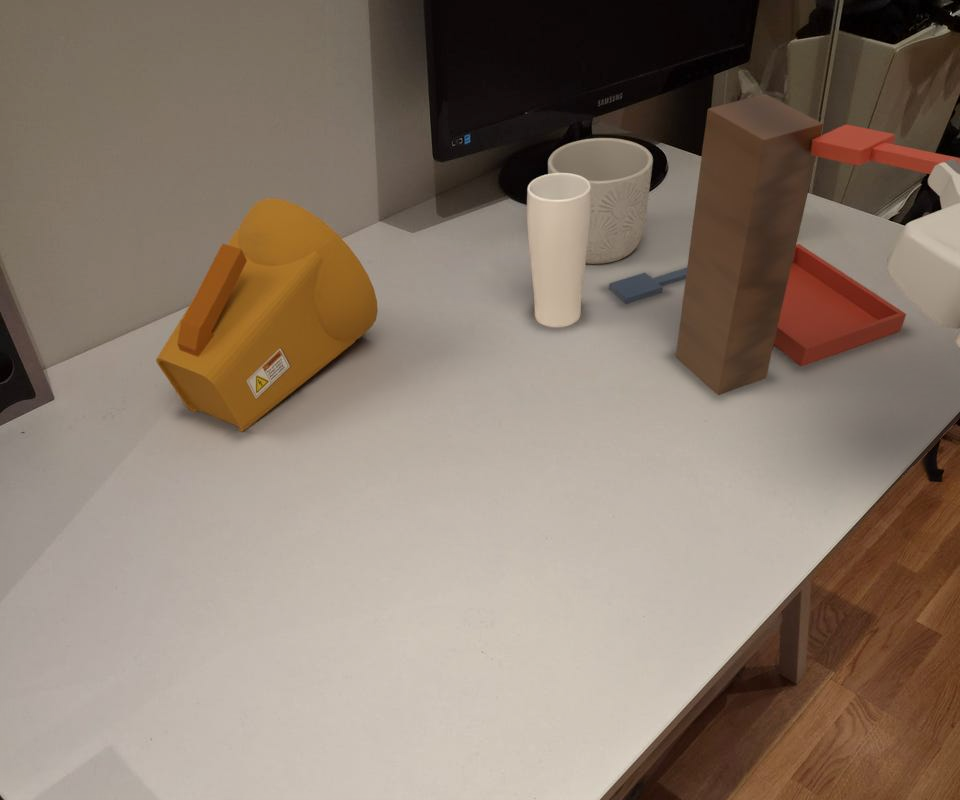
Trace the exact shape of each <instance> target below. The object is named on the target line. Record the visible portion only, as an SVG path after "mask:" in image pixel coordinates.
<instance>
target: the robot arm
mask: <svg viewBox="0 0 960 800" xmlns="http://www.w3.org/2000/svg"><path fill="white" fill-rule="evenodd" d="M927 185H928V186H929V187H930V189H931V190H933V192H935V194H937V196H939V202H940V207H941V209H940V210H937V211H934V212H932V213H929V214H927V215H924V216H921V217H918V218H916V219H913V220H911V221H909V222H907V223H906V224H905V225H904V226H903V228H902V229H901V231H900V233H899V234H898V236H897V238H896V240H895V241H894V244H893V245H892V247H891V250H890V251H889V253H888V256H887V259H886V266H887V273H888V276H889V277H890V279H891V280H892V282H893V283H894V284H895V285H896V286H897V287H898V288H899V290H901V292H902V293H903V294H904V295H905V296H906V297H907V298H908V299H909V300H910V301H911V302H912V303H913V304H914V305H915V306H916V307H917V308H918V309H919V310H921V312H922V313H924V314H925V315H926V316H927V317H928V318H929V319H930V320H932V321H933V322H935V323H937V324H938V325H940V326H942V327H944V328H947V329H948V328H949V329H953V330H955V329H956V330H957V329H959V330H960V164H958V161H957V160H956V159H951V160H948V161H945V162H943V163H940V164H937V165H936V166H935V167H934V169H933V171H932V172H931V174H929V176H928V178H927ZM954 340H955V341H954V342H955V344H956V346H957V347H958V348H959V349H960V331H959V332H958V333H957V335H956V337H955V339H954Z"/></svg>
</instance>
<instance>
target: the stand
mask: <svg viewBox="0 0 960 800" xmlns="http://www.w3.org/2000/svg"><path fill="white" fill-rule="evenodd" d="M823 128H824V123H823V122H821V121H819V120H817V119H816V118H813V117H812V116H809V115H807V114H806V113H803V112H802V111H800V110H797V109H796V108H794V107H791V106H790V105H788V104H786V103H784V102H782V101H780V100H778V99H776V98H774V97H772V96H770V95H768V94H766V93H762V94H758V95H755V96H751V97H747V98H744V99H740V100H736V101H732V102H729V103H725V104H720V105H716V106H713V107H710V108H708V109H707V112H706V119H705V128H704V133H703V134H704V135H703V143H702V150H701V158H700V167H699V173H698V182H697V190H696V197H695V204H694V213H693V220H692V227H691V235H690V244H689V250H688V256H687V257H688V258H687V264H686V266H687V267H686V268H687V273H686V279H685V281H684V288H683V296H682V305H681V310H680V311H681V312H680V319H679V327H678V333H677V334H678V336H677V343H676V351H675V359H677V360H678V361H679V362H680V363H681V364H682V365H684V367H686V368H687V369H688V370H689V371H690V372H691V373H692V374H694V375H695V376H696V377H697V378H698V379H699V380H700V381H701V382H702V383H703V384H705V385H706V387H708V388H709V389H710V390H711V391H713V392H714V393H715V394H716V395H717V396H720V395H723V394H726V393H728V392H731V391H734V390H737V389H740V388H742V387H743V388H744V387H746V386H748V385H750V384H755V383H756V382H759V381H763V380H765V379H767V375H768V371H769V367H770V362H771V358H772V354H773V353H772V352H773V350H774V340H775V336H776V332H777V327H778V323H779V318H780V314H781V310H782V305H783V301H784V296H785V292H786V287H787V283H788V279H789V274H790V270H791V265H792V261H793V257H794V252H795V248H796V244H798V239H799V234H800V229H801V225H802V220H803V216H804V212H805V208H806V205H807V204H806V203H807V199H808V195H809V189H810V185H811V180H812V177H813V173H814V172H813V171H814V168H815V163H816V160H817V156H813V155H811V146H812V140H813V139H815V138H817V137H819V136H822V133H823Z"/></svg>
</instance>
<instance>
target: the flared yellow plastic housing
mask: <svg viewBox="0 0 960 800" xmlns="http://www.w3.org/2000/svg"><path fill="white" fill-rule="evenodd" d="M377 316H378V299H377V296H376V292H375V288H374V286H373V283H372V281H371V278H370V276H369V274H368V272H367V271H366V269H365V267H364V266H363V264H362V263H361V261H360V259H359V258H358V257H357V255H356V254H355V253H354V251H353V250H352V249H351V248H350V246H349V245H348V244H347V242H345V241H344V239H343V238H342V237H341V236H340V235H339V234H338V233H337V232H336V231H335V230H334V229H332V227H330V226H329V225H328V223H326V222H325V221H323V220H322V219H320V218H319V217H318V216H317V215H315V214H314V213H313V212H311V211H310V210H307V209H305V208H304V207H302V206H300V205H298V204H296V203H293V202H291V201H288V200H286V199H283V198H282V199H281V198H275V197H270V198H263V199H261V200H259V201H257V202H255V203H254V205H253V206H252V207H251V208H250V209H249V210H248V211H247V214H245V216H244V218H243V220H242V221H241V223H240V225H239V228H237V229H236V230H235V231H234V232H233V234H232V236H231V238H230V239H229V241H228V243H227V244H225V243H222V244H221V246H220V248H219V249H218V251H217V254H216V255H215V257H214V258H213V261H212V262H211V265H210V267H209V269H208V270H207V272H206V275H205V276H204V278H203V281H202V282H201V284H200V286H199V287H198V290H197V292H196V294H195V295H194V297H193V299H192V300H191V302H190V304H189V306H188V307H187V309H186V310H185V312H184V313H183V316H182V317H181V319H180V320H179V322H177V325H176V326H175V327H174V330H173V332H172V333H171V334H170V336H169V338H168V340H167V341H166V343H165V344H164V346H163V348H162V349H161V351H160V352H159V354H158V355H157V357H156V359H155V361H156V364H157V366H158V367H159V368H160V370H161V372H162V373H163V374H164V376H165V377H166V379H167V380H168V382H169V383H170V385H171V386H172V388H173V389H174V390H175V392H176V393H177V395H178V397H179V398H180V399H181V401H182V403H183V404H184V405H185V407H187V409H188V410H189V411H191V412H193V413H196V412H197V411H199V412H202V413H205V414H207V415H209V416H211V417H214V418H216V419H219V420H222V421H224V422H226V423H229V424H231V425H233V426H236V427H238V428H239V429H238V432H241V433H243V432H244V431H246V430H247V429H249V428H250V427H251V426H253V425H254V424H255V423H256V422H258V420H260V419H261V418H262V417H264V416H265V415H266V414H267V413H269V412H270V411H271V410H272V409H273V408H275V407H276V406H277V405H278V404H280V403H282V401H284V400H285V399H286V398H287V397H288V396H290V395H291V394H292V393H294V392H295V391H296V390H297V389H298V388H300V387H301V386H302V385H304V383H306V382H307V381H308V380H309V379H311V378H312V377H313V376H314V375H315V374H317V373H318V372H319V371H321V370H322V369H323V368H324V367H326V366H327V365H328V364H329V363H331V362H332V361H333V360H335V359H336V358H338V356H339V355H341V354H342V353H343V352H345V350H347V349H349V347H351V346H352V345H353V344H354V343H355V342H356V341H357V340H359V339H360V338H361V337H363V335H365V334H366V333H367V332H368V331H369V330H370V329H371V328H373V325H374V324H375V322H376V321H377Z"/></svg>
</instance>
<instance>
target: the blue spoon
mask: <svg viewBox="0 0 960 800" xmlns="http://www.w3.org/2000/svg"><path fill="white" fill-rule="evenodd" d="M686 273H687V267H685V268H681V269H678V270H675V271H672V272H668V273H665V274H662V275H658V276H655V277H651V276H650V275H649V274H647V273H646V272H642V273H639V274H635V275H633V276H629V277H626V278H623V279H619V280H616V281H613V282H610V283H609V284H608V285H609V286H608V290H610V291H611V293H612V294H614V295H615V296H616V297H617V298H618V299H620V300H621V301H622V302H623V303H624V304H626V305H627V304H631V303H634V302H637V301H640V300H644V299H646V298H649V297H650V298H651V297H653V296H656V295H659V294H663V289H664V286H667V285H669V284H673V283H676V282H679V281H682V280H684V279H685V280H686Z"/></svg>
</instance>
